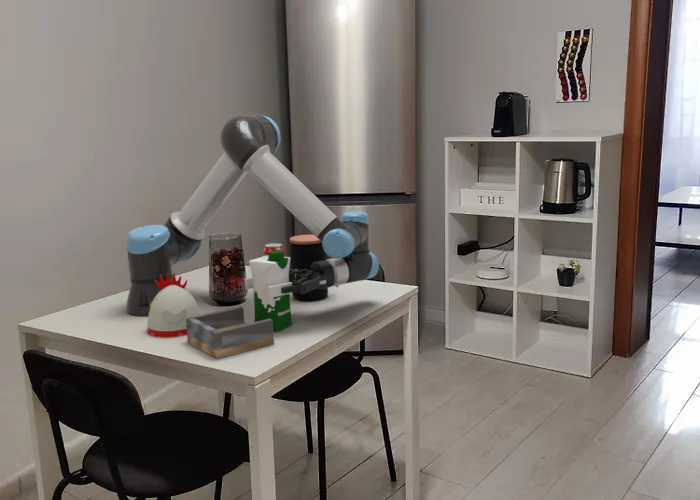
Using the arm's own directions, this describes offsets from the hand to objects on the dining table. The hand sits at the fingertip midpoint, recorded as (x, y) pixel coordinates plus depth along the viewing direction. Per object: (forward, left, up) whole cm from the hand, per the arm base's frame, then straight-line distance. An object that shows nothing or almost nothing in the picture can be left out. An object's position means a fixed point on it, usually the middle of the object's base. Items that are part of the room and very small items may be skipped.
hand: (257, 288), depth 175 cm
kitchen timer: (-16, -16, -11) cm, 25 cm away
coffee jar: (-17, +27, -11) cm, 34 cm away
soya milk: (0, +4, -11) cm, 12 cm away
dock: (+4, -10, -11) cm, 16 cm away
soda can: (-42, +30, -11) cm, 53 cm away
